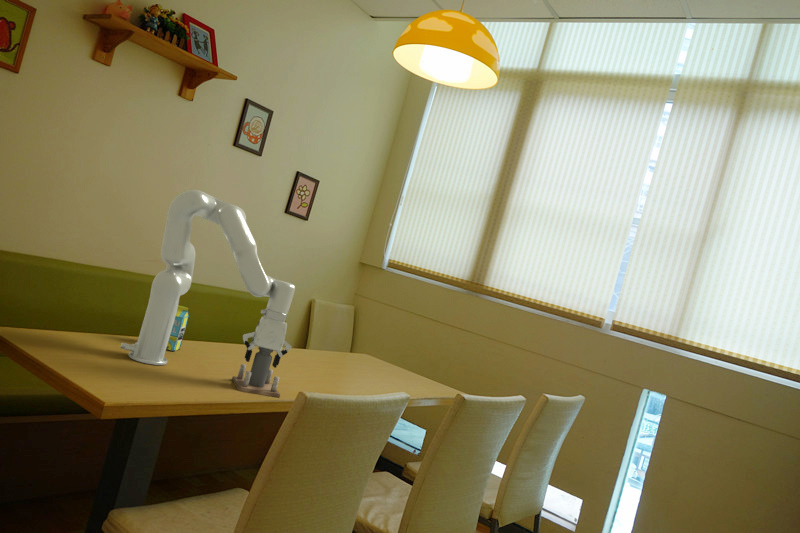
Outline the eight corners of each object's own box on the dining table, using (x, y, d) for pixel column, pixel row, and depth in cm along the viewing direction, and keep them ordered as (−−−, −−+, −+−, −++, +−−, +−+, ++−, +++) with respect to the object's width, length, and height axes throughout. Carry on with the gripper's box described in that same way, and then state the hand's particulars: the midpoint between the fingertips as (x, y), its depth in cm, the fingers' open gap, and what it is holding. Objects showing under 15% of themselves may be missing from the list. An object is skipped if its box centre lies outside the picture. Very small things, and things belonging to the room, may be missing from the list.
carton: (153, 347, 231) (167, 300, 232) (161, 344, 239) (174, 299, 239) (172, 352, 231) (186, 306, 232) (179, 349, 239) (192, 305, 239)
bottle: (259, 388, 209) (271, 345, 209) (244, 383, 210) (256, 340, 210) (266, 386, 214) (278, 344, 215) (251, 381, 215) (263, 339, 216)
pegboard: (238, 390, 203) (243, 372, 203) (231, 379, 215) (236, 362, 216) (279, 397, 209) (284, 379, 209) (270, 386, 221) (275, 369, 221)
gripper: (253, 312, 205) (238, 361, 205) (301, 324, 213) (287, 371, 212) (249, 308, 212) (234, 356, 212) (296, 320, 220) (281, 366, 219)
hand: (260, 363), depth 212 cm, fingers open, 9 cm apart
